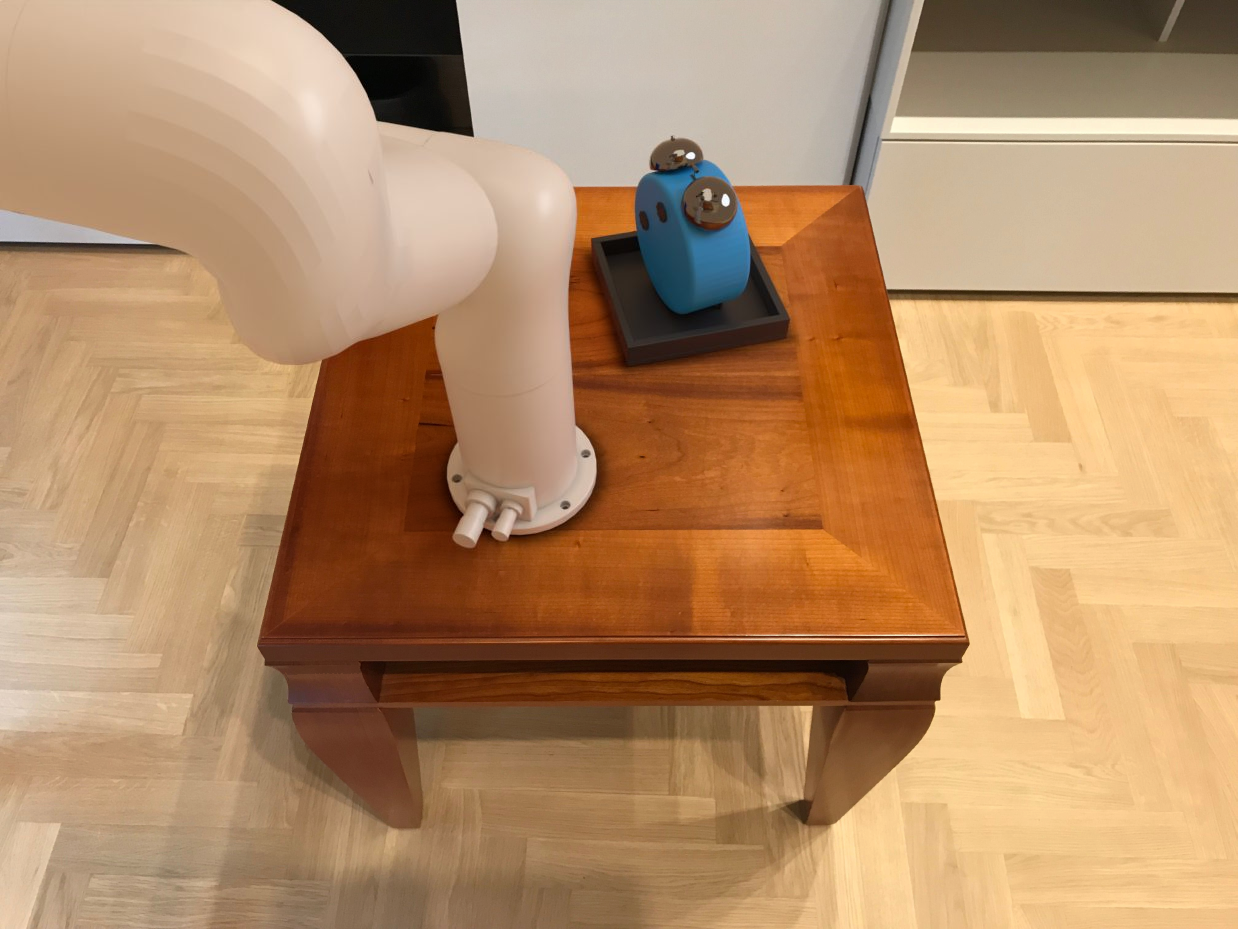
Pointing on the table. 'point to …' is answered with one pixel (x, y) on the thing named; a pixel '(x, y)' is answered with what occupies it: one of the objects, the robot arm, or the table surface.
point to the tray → (670, 335)
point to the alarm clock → (691, 229)
